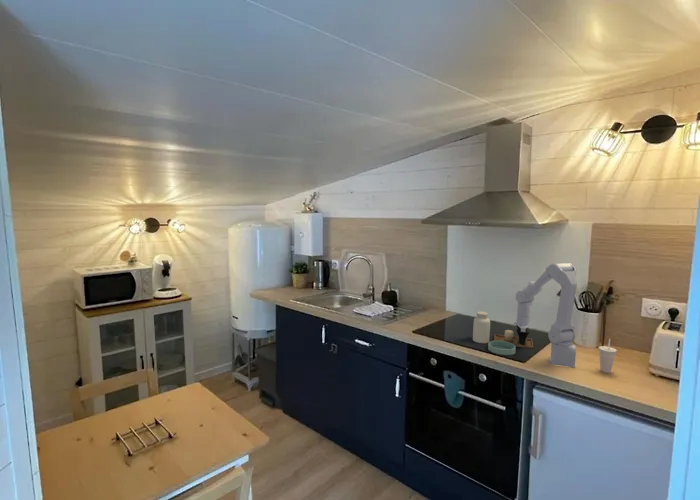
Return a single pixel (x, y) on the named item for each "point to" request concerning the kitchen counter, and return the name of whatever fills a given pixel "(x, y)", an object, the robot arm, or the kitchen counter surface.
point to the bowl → (501, 347)
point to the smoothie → (606, 357)
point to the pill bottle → (481, 328)
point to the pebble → (508, 336)
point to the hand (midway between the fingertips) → (521, 341)
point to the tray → (514, 341)
